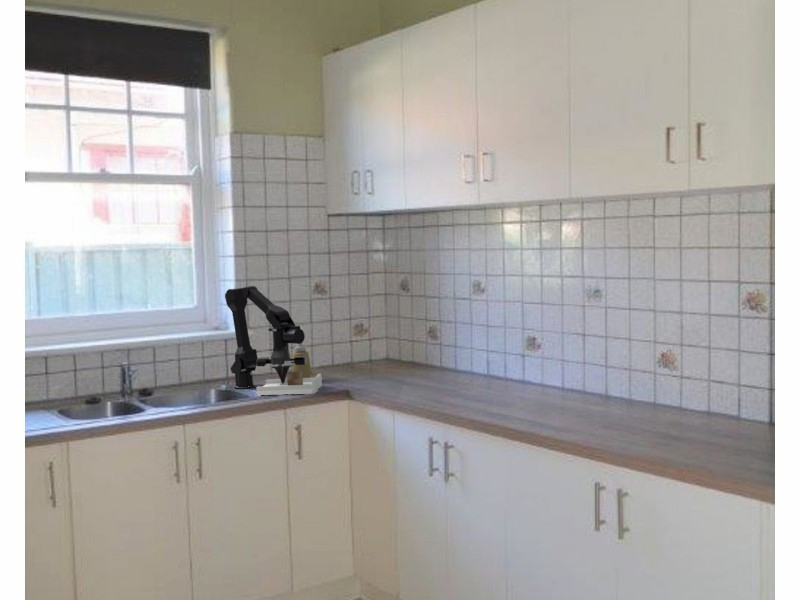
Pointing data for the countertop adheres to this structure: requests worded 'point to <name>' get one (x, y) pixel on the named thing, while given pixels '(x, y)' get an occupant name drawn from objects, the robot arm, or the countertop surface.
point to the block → (295, 378)
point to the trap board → (290, 386)
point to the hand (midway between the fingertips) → (283, 383)
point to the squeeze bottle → (306, 368)
